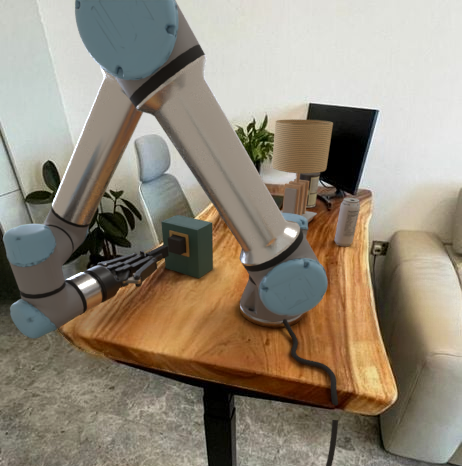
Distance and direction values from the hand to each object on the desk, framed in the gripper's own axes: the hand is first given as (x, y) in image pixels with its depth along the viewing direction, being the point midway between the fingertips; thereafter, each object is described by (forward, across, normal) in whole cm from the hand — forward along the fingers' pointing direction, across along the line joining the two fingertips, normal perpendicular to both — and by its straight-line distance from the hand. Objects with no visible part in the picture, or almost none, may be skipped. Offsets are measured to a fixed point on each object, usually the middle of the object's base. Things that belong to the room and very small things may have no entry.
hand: (165, 250), depth 91 cm
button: (+6, 0, -2) cm, 6 cm away
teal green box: (+9, 0, -9) cm, 13 cm away
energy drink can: (+53, +32, -9) cm, 63 cm away
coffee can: (+90, +4, -9) cm, 90 cm away
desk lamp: (+66, +9, -9) cm, 67 cm away
